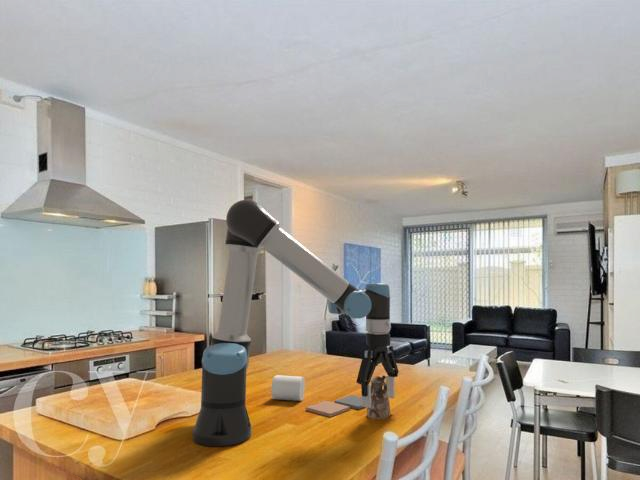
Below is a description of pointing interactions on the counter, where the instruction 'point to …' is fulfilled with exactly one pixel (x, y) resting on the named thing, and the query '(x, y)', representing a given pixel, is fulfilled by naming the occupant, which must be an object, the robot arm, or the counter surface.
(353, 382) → the counter surface
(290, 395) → the white rounded block
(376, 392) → the figurine
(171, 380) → the counter surface
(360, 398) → the slate tile
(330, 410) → the terracotta tile
